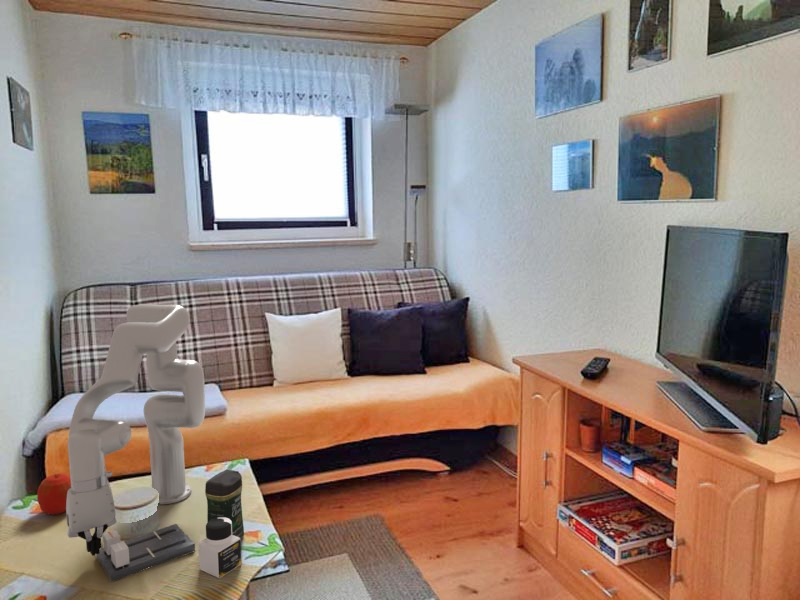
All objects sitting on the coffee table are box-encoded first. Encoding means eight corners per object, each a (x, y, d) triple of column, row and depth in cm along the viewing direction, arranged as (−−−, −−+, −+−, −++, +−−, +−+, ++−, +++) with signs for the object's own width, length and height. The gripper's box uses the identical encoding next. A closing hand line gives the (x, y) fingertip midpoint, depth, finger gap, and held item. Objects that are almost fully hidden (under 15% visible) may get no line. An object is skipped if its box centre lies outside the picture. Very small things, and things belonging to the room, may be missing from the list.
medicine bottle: (219, 579, 141) (217, 532, 139) (199, 570, 145) (196, 523, 143) (242, 564, 147) (240, 518, 145) (222, 555, 151) (220, 511, 149)
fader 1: (103, 548, 150) (102, 533, 149) (116, 544, 152) (115, 529, 151) (107, 555, 147) (106, 539, 146) (120, 550, 149) (119, 535, 148)
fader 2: (111, 560, 144) (110, 544, 144) (124, 556, 146) (123, 540, 146) (116, 568, 141) (115, 552, 141) (129, 563, 143) (128, 547, 143)
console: (96, 557, 150) (95, 549, 150) (176, 530, 163) (175, 523, 162) (111, 581, 140) (110, 573, 140) (195, 550, 153) (194, 543, 153)
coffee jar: (229, 554, 152) (225, 484, 149) (202, 548, 154) (198, 480, 151) (249, 534, 161) (247, 469, 158) (224, 530, 163) (221, 465, 160)
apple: (65, 520, 168) (62, 481, 167) (30, 519, 169) (26, 481, 167) (85, 502, 178) (82, 466, 177) (51, 502, 179) (48, 465, 177)
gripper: (117, 468, 152) (122, 535, 154) (50, 485, 142) (56, 557, 145) (126, 478, 146) (131, 548, 149) (57, 496, 136) (63, 571, 139)
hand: (94, 552), depth 147 cm, fingers closed
